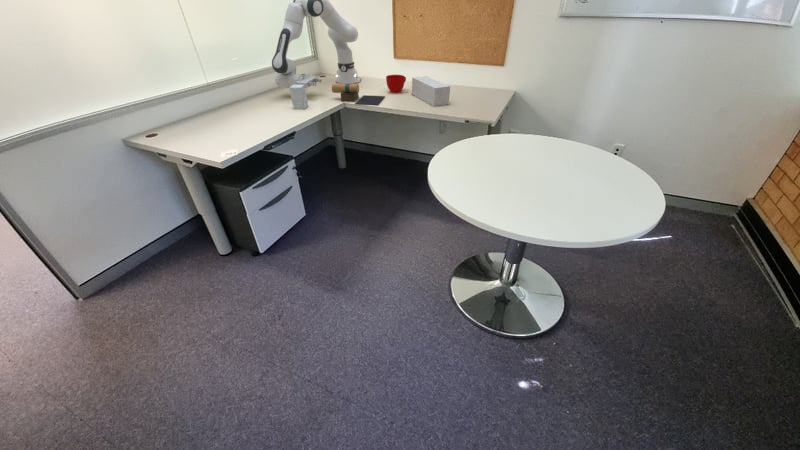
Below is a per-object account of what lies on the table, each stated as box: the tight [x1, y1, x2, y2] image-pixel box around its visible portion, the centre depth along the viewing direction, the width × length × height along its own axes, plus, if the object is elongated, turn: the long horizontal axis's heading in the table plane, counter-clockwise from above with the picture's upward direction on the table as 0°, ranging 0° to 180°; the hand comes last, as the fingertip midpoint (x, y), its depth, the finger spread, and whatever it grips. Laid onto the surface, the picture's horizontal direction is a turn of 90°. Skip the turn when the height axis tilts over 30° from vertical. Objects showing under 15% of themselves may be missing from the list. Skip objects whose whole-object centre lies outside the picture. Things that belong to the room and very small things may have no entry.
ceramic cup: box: [385, 74, 407, 94], centre depth 231 cm, size 13×17×10 cm
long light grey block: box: [411, 75, 451, 107], centre depth 214 cm, size 32×11×11 cm, turn 24°
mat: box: [354, 95, 386, 106], centre depth 215 cm, size 20×15×1 cm
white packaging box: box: [288, 85, 309, 110], centre depth 200 cm, size 7×7×13 cm
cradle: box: [340, 92, 360, 103], centre depth 216 cm, size 10×9×5 cm
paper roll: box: [331, 83, 360, 94], centre depth 214 cm, size 17×6×6 cm, turn 79°
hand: (318, 82), depth 215 cm, fingers open, 8 cm apart
